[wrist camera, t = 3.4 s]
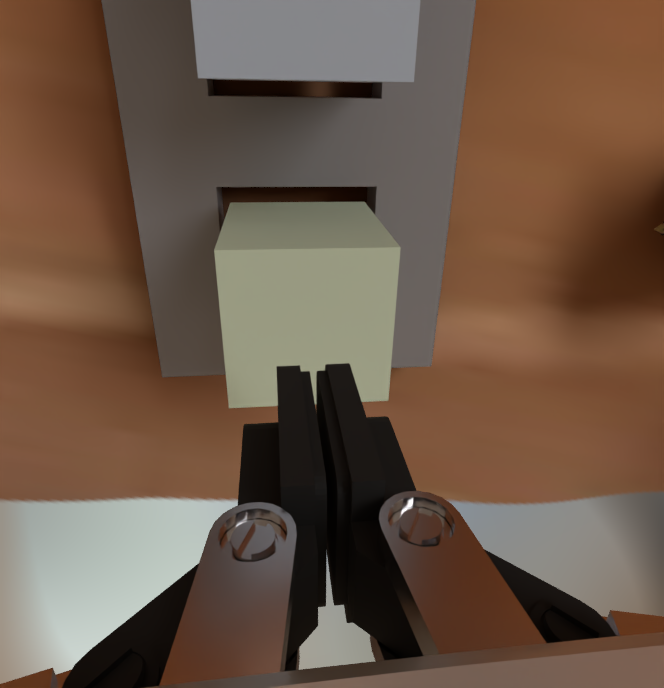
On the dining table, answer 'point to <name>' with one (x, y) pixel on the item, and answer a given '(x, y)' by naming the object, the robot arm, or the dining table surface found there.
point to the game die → (660, 229)
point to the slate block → (306, 40)
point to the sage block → (305, 295)
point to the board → (281, 166)
